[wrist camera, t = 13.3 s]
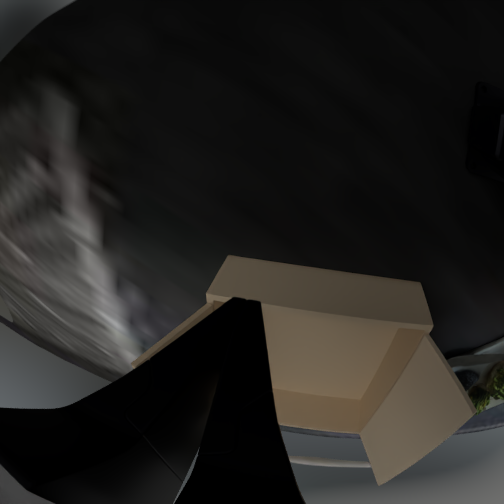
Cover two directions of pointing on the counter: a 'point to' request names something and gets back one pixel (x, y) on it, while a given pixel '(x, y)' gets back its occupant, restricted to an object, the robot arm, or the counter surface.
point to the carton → (329, 337)
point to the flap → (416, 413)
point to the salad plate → (482, 374)
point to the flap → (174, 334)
